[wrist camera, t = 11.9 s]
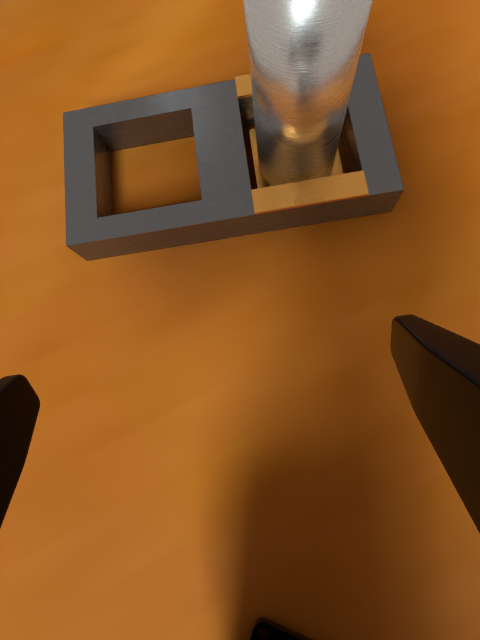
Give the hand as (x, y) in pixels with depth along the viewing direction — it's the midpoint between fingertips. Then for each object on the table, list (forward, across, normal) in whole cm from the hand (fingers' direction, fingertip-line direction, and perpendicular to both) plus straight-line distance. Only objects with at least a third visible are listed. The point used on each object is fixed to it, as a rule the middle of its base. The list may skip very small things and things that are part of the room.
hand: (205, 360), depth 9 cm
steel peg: (+19, -5, -1) cm, 20 cm away
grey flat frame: (+20, 0, 0) cm, 20 cm away
